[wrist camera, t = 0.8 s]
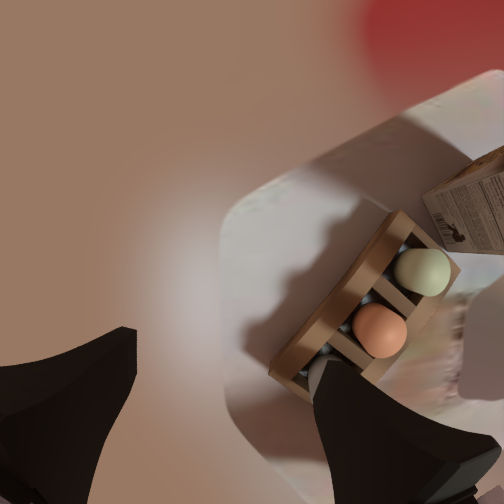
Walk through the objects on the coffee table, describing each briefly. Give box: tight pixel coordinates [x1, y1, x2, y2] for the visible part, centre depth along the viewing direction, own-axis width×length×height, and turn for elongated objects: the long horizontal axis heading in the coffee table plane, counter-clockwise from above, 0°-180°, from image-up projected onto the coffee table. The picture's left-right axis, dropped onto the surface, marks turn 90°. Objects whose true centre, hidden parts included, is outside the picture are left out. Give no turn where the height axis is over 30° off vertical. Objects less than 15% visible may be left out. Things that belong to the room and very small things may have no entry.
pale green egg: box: [393, 249, 451, 297], centre depth 19 cm, size 3×3×4 cm
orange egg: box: [352, 302, 407, 358], centre depth 20 cm, size 3×3×4 cm
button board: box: [268, 209, 461, 405], centre depth 23 cm, size 17×8×3 cm, turn 142°
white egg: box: [308, 354, 344, 404], centre depth 20 cm, size 3×3×4 cm
